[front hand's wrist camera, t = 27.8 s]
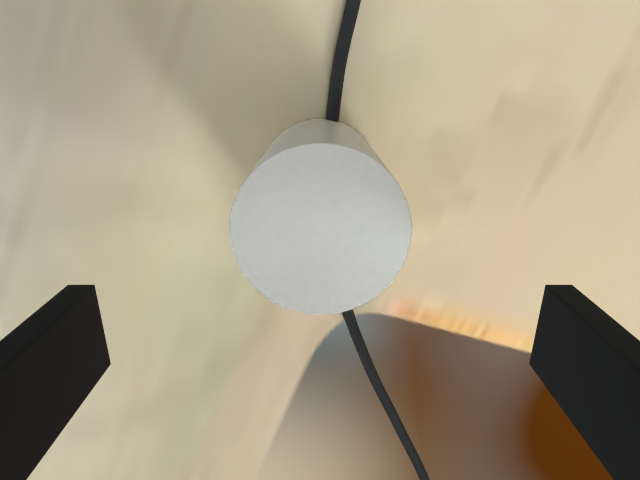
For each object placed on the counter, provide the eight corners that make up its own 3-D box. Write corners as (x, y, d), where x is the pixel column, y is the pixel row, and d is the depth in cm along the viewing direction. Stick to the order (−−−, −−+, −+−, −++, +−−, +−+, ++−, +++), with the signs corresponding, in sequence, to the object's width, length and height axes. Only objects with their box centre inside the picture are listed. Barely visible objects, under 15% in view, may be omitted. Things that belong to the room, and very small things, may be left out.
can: (262, 233, 33) (233, 313, 22) (260, 116, 30) (224, 140, 19) (374, 236, 33) (403, 317, 22) (383, 120, 30) (421, 145, 19)
